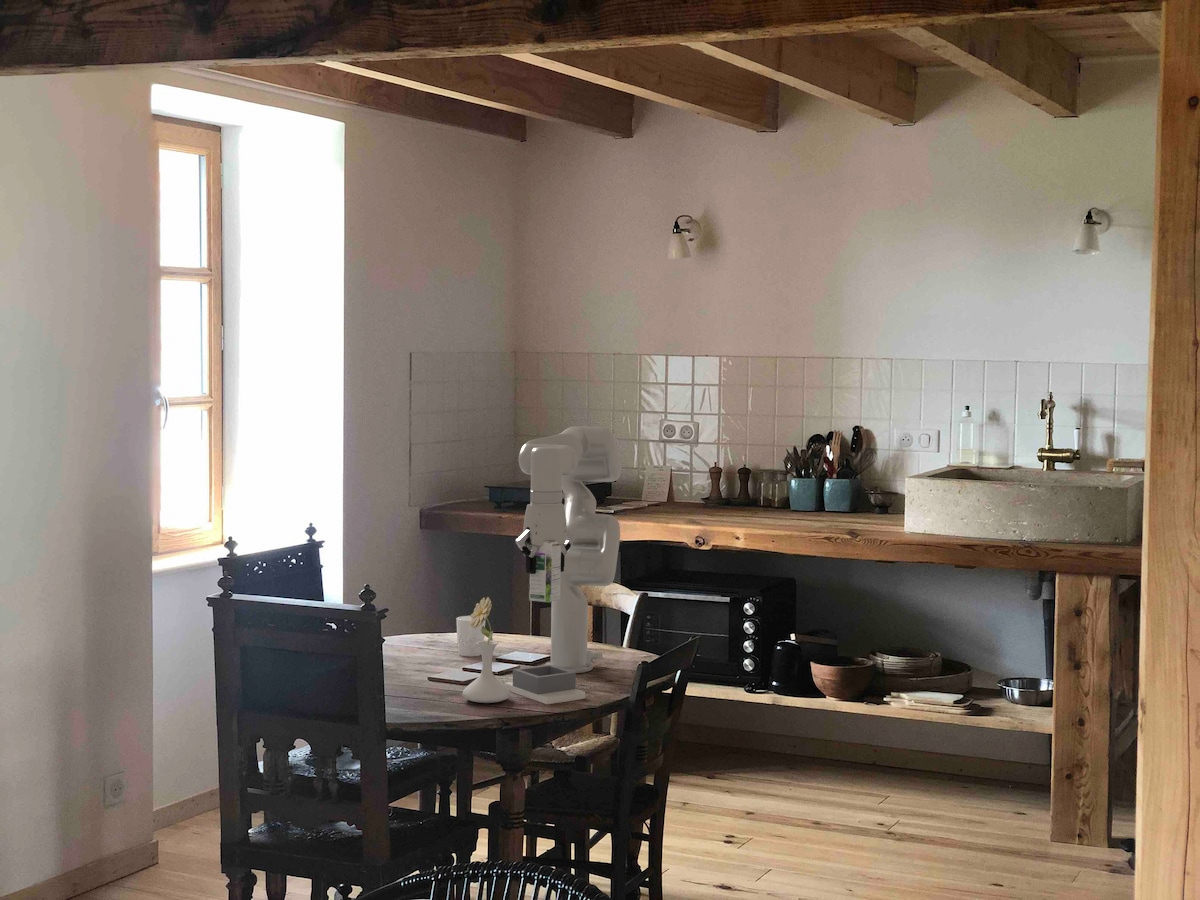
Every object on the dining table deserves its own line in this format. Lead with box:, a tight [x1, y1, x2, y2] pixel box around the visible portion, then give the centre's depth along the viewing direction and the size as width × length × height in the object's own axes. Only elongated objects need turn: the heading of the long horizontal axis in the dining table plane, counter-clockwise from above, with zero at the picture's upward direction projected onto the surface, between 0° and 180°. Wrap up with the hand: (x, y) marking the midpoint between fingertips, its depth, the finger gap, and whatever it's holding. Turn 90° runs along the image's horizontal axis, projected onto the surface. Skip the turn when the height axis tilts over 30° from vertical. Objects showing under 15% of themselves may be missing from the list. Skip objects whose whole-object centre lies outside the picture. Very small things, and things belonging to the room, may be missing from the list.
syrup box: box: [528, 541, 561, 603], centre depth 328 cm, size 6×6×14 cm
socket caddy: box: [503, 664, 586, 705], centre depth 330 cm, size 11×19×6 cm, turn 36°
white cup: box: [456, 615, 486, 658], centre depth 375 cm, size 8×8×10 cm
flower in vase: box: [462, 596, 512, 704], centre depth 320 cm, size 13×11×25 cm
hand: (545, 571), depth 328 cm, fingers closed on syrup box, 7 cm apart
